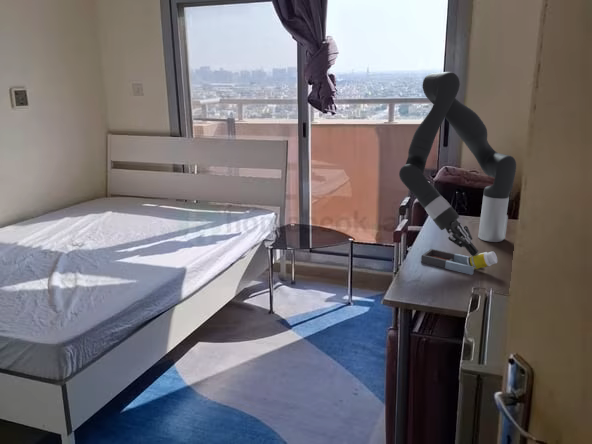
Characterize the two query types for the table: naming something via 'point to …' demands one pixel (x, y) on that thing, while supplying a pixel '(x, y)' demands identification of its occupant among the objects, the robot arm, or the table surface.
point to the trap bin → (437, 257)
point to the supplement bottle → (482, 260)
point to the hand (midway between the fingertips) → (475, 254)
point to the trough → (459, 266)
